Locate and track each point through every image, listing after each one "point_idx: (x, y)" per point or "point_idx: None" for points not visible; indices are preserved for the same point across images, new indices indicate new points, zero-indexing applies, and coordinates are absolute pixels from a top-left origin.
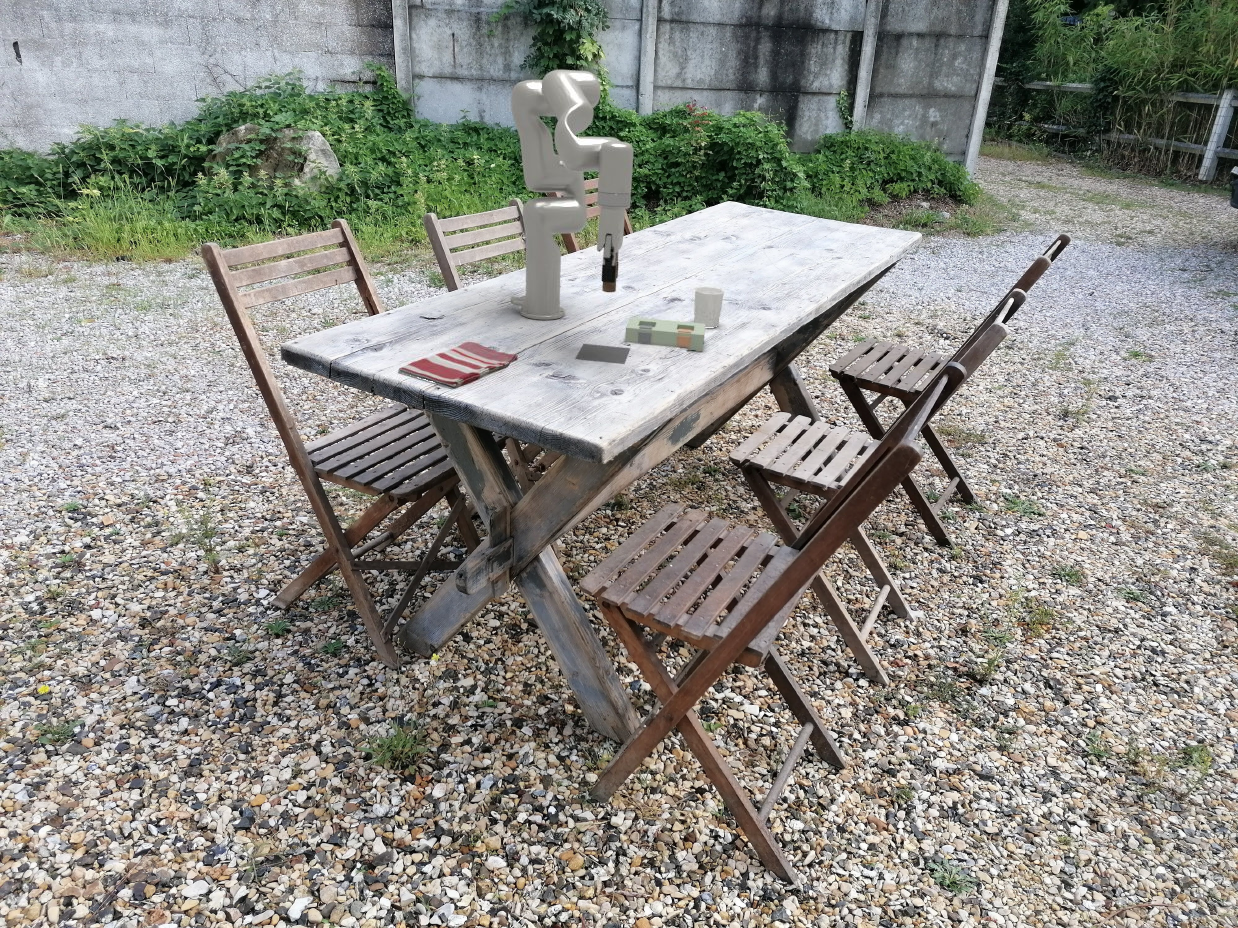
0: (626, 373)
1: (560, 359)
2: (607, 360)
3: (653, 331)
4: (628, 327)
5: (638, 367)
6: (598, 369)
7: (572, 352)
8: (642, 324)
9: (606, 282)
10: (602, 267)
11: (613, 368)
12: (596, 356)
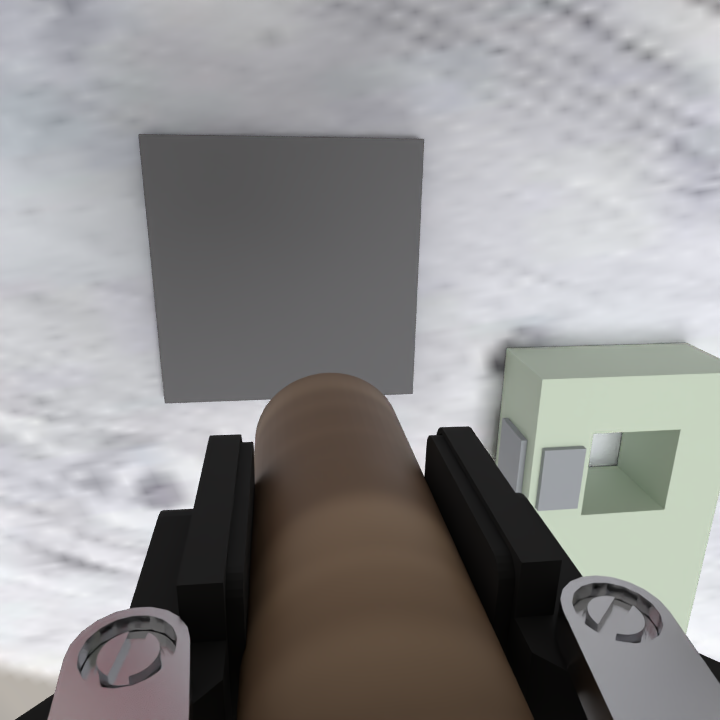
0: (82, 419)
1: (159, 36)
2: (183, 315)
3: None
4: (548, 392)
5: (191, 456)
6: (81, 281)
7: (307, 90)
8: (665, 435)
9: (256, 476)
10: (187, 556)
11: (128, 350)
12: (228, 248)
